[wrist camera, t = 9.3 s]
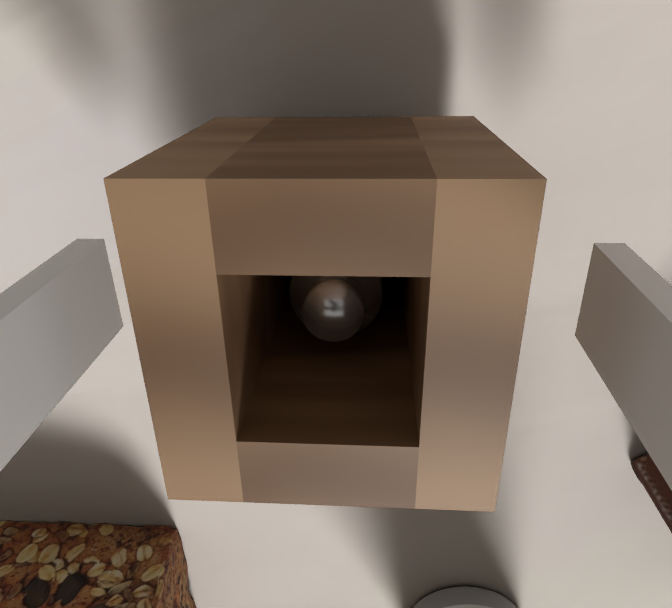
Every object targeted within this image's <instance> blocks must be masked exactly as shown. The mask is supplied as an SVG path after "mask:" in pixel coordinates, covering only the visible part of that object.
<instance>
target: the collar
mask: <svg viewBox="0 0 672 608" xmlns="http://www.w3.org/2000/svg"><path fill="white" fill-rule="evenodd" d="M546 181H547V179H546V178H545V177H544V176H543V175H541V174H540V173H539V172H538V171H537V170H536V169H534V168H533V167H532V166H531V165H530V164H529V163H527V162H526V161H525V160H524V159H523V158H522V157H520V156H519V155H518V154H517V153H516V152H515V151H513V150H512V149H511V148H510V147H509V146H508V145H506V144H505V143H504V142H503V141H502V140H501V139H499V138H498V137H497V136H496V135H495V134H494V133H492V132H491V131H490V130H489V129H488V128H487V127H485V126H484V125H483V124H482V123H481V122H480V121H478V120H477V119H476V118H475V117H474V116H430V117H257V118H214V119H212V120H211V121H209V122H207V123H205V124H203V125H201V126H200V127H198V128H196V129H194V130H192V131H190V132H188V133H187V134H185V135H183V136H181V137H179V138H177V139H176V140H174V141H172V142H170V143H168V144H166V145H164V146H163V147H161V148H159V149H157V150H155V151H153V152H152V153H150V154H148V155H146V156H144V157H142V158H140V159H139V160H137V161H135V162H133V163H131V164H129V165H128V166H126V167H124V168H122V169H120V170H118V171H117V172H115V173H113V174H111V175H109V176H107V177H105V178H104V183H105V188H106V193H107V198H108V203H109V208H110V213H111V218H112V223H113V228H114V233H115V238H116V243H117V248H118V253H119V258H120V263H121V268H122V273H123V278H124V283H125V287H126V292H127V297H128V302H129V307H130V312H131V317H132V322H133V327H134V332H135V337H136V342H137V347H138V352H139V357H140V362H141V367H142V372H143V377H144V382H145V387H146V392H147V397H148V402H149V407H150V412H151V417H152V421H153V426H154V431H155V436H156V441H157V446H158V451H159V456H160V461H161V466H162V471H163V476H164V481H165V486H166V491H167V496H168V499H176V500H202V501H228V502H254V503H280V504H306V505H332V506H358V507H384V508H410V509H436V510H462V511H488V512H495V507H496V501H497V494H498V488H499V482H500V475H501V469H502V462H503V456H504V449H505V443H506V437H507V430H508V424H509V417H510V411H511V405H512V398H513V392H514V385H515V379H516V373H517V366H518V360H519V353H520V347H521V341H522V334H523V328H524V321H525V315H526V309H527V302H528V296H529V289H530V283H531V277H532V270H533V264H534V257H535V251H536V245H537V238H538V232H539V225H540V219H541V213H542V206H543V200H544V193H545V187H546ZM285 275H293V276H374V277H404V284H403V296H386V295H382V303H381V307H380V309H379V311H378V313H377V315H376V317H375V318H374V319H373V320H372V322H371V323H370V324H368V325H367V326H366V327H365V328H363V329H361V330H359V331H357V332H356V333H355V334H354V335H353V336H352V337H350V338H348V339H346V340H343V341H337V342H330V341H325V340H322V339H319V338H317V337H316V336H314V335H313V334H312V333H311V332H310V331H309V330H308V329H307V328H306V326H305V324H304V323H303V322H302V321H301V320H300V319H299V318H298V316H297V315H296V313H295V312H294V310H293V308H292V305H291V302H290V296H289V294H286V284H285Z"/></svg>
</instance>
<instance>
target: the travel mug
mask: <svg viewBox="0 0 672 608" xmlns="http://www.w3.org/2000/svg"><path fill="white" fill-rule="evenodd" d="M413 608H516V606H515V605H514V604H513V603H511V602H510V601H509V600H508V599H507V598H505V597H504V596H502V595H500V594H498V593H496V592H493V591H490V590H487V589H483V588H478V587H466V586H463V587H452V588H446V589H442V590H439V591H436V592H434V593H431V594H429V595H428V596H426V597H424V598H423V599H421V600H420V601H419V602H418V603H417V604H416V605H415V606H414V607H413Z"/></svg>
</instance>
